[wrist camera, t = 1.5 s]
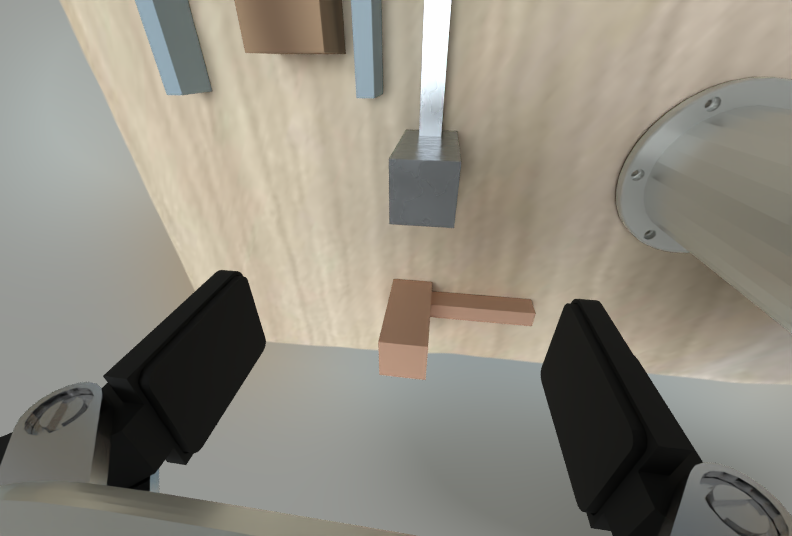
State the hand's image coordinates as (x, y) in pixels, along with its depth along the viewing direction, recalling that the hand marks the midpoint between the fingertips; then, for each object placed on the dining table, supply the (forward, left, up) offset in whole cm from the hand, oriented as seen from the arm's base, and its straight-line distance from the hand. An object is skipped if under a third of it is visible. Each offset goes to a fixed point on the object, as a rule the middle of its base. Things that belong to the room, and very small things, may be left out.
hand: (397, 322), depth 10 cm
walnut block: (+9, -10, -20) cm, 24 cm away
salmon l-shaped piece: (-4, +15, -20) cm, 25 cm away
